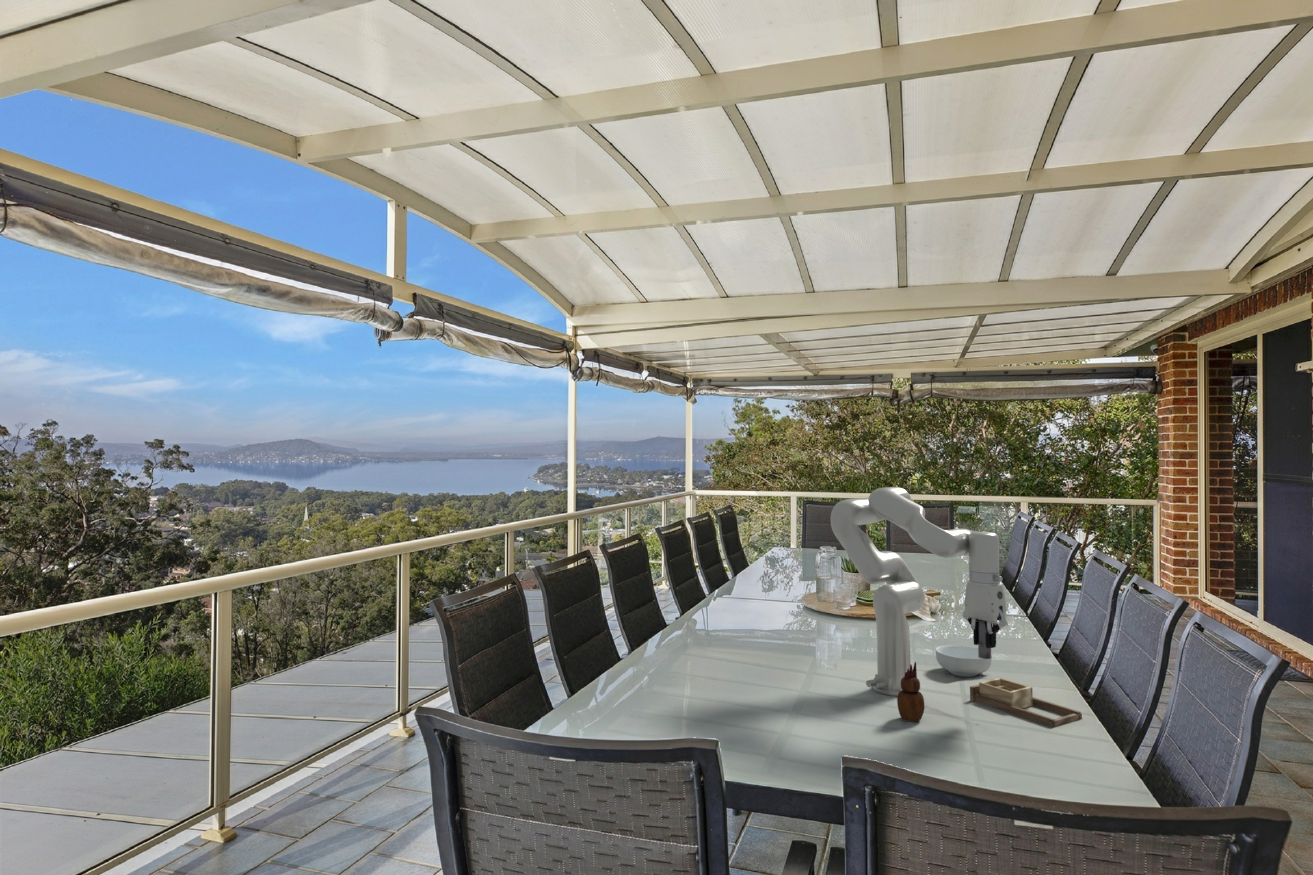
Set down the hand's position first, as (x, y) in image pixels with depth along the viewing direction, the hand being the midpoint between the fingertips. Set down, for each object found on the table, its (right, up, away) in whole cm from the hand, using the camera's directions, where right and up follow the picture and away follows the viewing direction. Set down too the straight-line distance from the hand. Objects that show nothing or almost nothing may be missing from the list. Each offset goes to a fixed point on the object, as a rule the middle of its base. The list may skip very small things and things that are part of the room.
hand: (984, 645), depth 199 cm
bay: (+11, -19, +1) cm, 22 cm away
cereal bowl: (+10, -20, +38) cm, 44 cm away
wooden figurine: (-21, -19, -3) cm, 29 cm away
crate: (+8, -18, +5) cm, 20 cm away
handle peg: (0, -3, 0) cm, 3 cm away
